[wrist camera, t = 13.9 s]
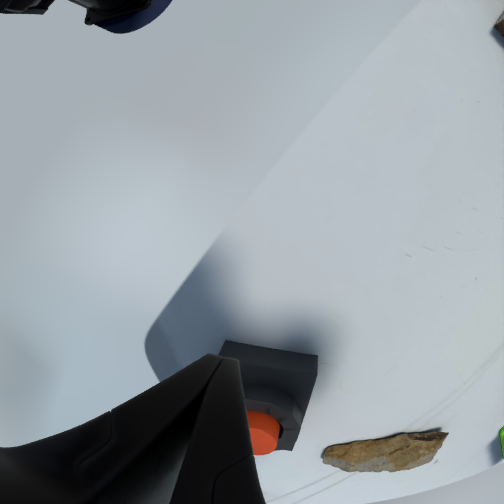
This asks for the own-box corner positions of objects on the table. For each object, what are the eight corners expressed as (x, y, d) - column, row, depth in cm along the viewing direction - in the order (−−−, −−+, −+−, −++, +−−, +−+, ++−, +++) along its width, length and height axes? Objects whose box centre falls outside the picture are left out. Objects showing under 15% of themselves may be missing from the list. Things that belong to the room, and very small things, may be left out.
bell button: (276, 441, 20) (273, 458, 18) (231, 433, 20) (226, 449, 19) (283, 415, 19) (280, 433, 17) (233, 406, 19) (227, 423, 18)
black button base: (294, 433, 24) (290, 466, 20) (221, 420, 25) (210, 451, 21) (317, 355, 21) (317, 392, 17) (225, 339, 22) (209, 372, 18)
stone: (323, 466, 25) (322, 485, 22) (322, 440, 24) (321, 461, 21) (437, 447, 22) (443, 465, 19) (447, 418, 21) (454, 437, 18)
